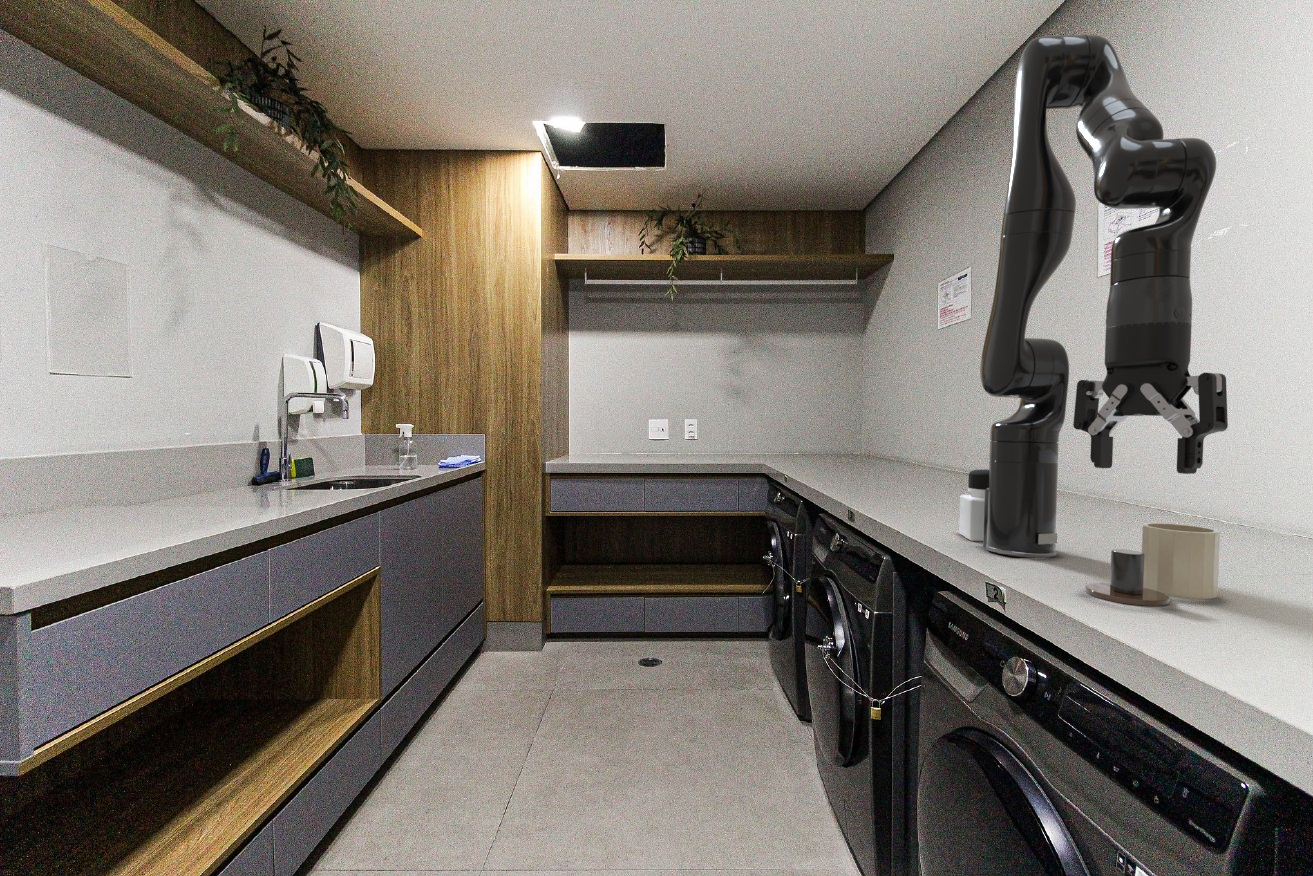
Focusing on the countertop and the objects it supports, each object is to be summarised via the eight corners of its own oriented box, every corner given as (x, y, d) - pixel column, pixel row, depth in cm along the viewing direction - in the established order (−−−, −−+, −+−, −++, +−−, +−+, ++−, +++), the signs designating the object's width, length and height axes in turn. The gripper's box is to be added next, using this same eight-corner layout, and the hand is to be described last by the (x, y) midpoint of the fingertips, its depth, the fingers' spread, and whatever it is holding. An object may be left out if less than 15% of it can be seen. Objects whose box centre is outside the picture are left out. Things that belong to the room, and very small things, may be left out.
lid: (1069, 593, 75) (1071, 545, 75) (1125, 591, 76) (1127, 544, 76) (1126, 612, 67) (1128, 559, 67) (1187, 610, 69) (1189, 558, 68)
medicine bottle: (1015, 543, 107) (1017, 472, 106) (969, 540, 108) (971, 470, 108) (1001, 536, 114) (1003, 469, 113) (958, 533, 115) (960, 467, 115)
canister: (1125, 587, 78) (1127, 523, 78) (1174, 586, 79) (1176, 522, 79) (1180, 604, 71) (1183, 533, 71) (1233, 602, 72) (1236, 532, 72)
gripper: (1246, 317, 65) (1240, 475, 65) (1103, 334, 78) (1099, 465, 79) (1202, 311, 62) (1196, 476, 63) (1061, 330, 75) (1057, 466, 76)
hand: (1142, 470), depth 71 cm, fingers open, 8 cm apart
